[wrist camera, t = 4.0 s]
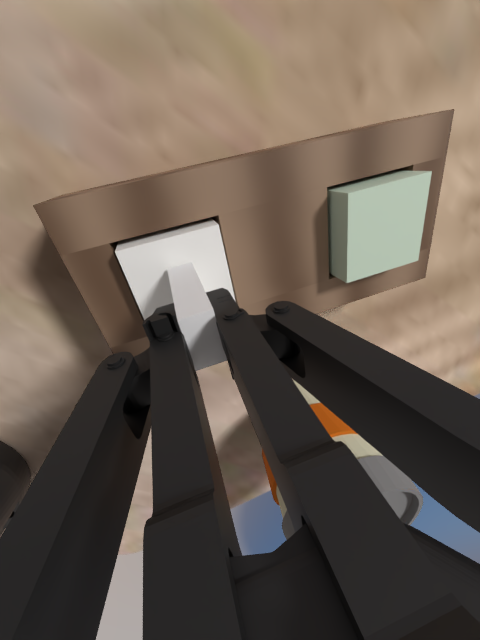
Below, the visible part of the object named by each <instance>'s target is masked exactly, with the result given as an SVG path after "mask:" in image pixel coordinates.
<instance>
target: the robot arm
mask: <svg viewBox="0 0 480 640" xmlns="http://www.w3.org/2000/svg"><path fill="white" fill-rule="evenodd" d="M167 271H168V276H169V281H170V286H171V291H172V296H173V301H174V303H171V304H168V305H165V306H161V307H158V308H156V310H155V311H154V313H153V315H151V316H149V317H148V318H146V319H145V320H144V321H143V324H142V326H143V328H144V330H145V333H146V335H147V337H148V339H149V342H150V347H149V348H148V349H147V350H145V351H144V352H142V353H140V354H138V355H137V356H135V357H133V355H132V354H131V353H130V352H119V353H115V354H113V355H110V356H109V357H108V358H106V359H105V360H104V361H102V363H101V364H100V365H99V367H98V368H97V370H96V372H95V374H94V375H93V377H92V379H91V381H90V382H89V384H88V386H87V388H86V389H85V391H84V393H83V395H82V396H81V398H80V400H79V402H78V403H77V405H76V407H75V409H74V410H73V412H72V414H71V416H70V417H69V419H68V421H67V423H66V424H65V426H64V428H63V430H62V431H61V433H60V435H59V437H58V438H57V440H56V442H55V444H54V445H53V447H52V449H51V451H50V452H49V454H48V456H47V458H46V459H45V461H44V463H43V465H42V466H41V468H40V470H39V472H38V473H37V475H36V477H35V479H34V480H33V482H32V484H31V486H30V487H29V484H30V471H29V468H28V465H27V464H26V462H25V460H24V459H23V458H22V457H21V456H20V454H19V453H17V452H16V451H15V450H14V449H12V448H11V447H10V446H8V445H6V444H5V443H3V442H1V441H0V535H1V534H2V532H3V530H4V529H5V528H6V529H5V531H4V533H3V534H2V536H1V538H0V640H96V636H97V632H98V628H99V624H100V620H101V616H102V612H103V609H104V605H105V601H106V597H107V593H108V590H109V586H110V582H111V578H112V574H113V570H114V567H115V563H116V559H117V555H118V551H119V547H120V544H121V540H122V536H123V532H124V528H125V524H126V521H127V517H128V513H129V509H130V505H131V501H132V497H133V494H134V490H135V486H136V482H137V478H138V474H139V471H140V467H141V463H142V459H143V455H144V451H145V448H146V444H147V440H148V436H149V432H150V428H151V432H152V478H153V514H152V517H151V518H149V519H148V520H147V521H146V524H145V527H144V538H143V640H480V564H479V563H477V562H475V561H473V560H471V559H470V558H468V557H466V556H464V555H463V554H461V553H459V552H457V551H455V550H454V549H452V548H450V547H448V546H446V545H444V544H443V543H441V542H439V541H437V540H436V539H434V538H432V537H430V536H428V535H427V534H425V533H423V532H421V531H419V530H418V529H415V528H414V527H412V526H410V525H408V524H405V523H403V522H402V521H401V520H400V519H399V517H398V516H397V514H396V513H395V512H394V510H393V509H392V507H391V506H390V505H389V503H388V502H387V500H386V499H385V498H384V496H383V495H382V493H381V492H380V491H379V489H378V488H377V486H376V485H375V483H374V482H373V481H372V479H371V478H370V476H369V475H368V474H367V472H366V471H365V469H364V468H363V467H362V465H361V464H360V462H359V461H358V460H357V458H356V457H355V455H354V454H353V453H352V451H351V450H350V449H349V448H348V446H347V445H346V444H344V443H343V442H342V441H337V442H336V441H334V440H333V439H332V438H331V436H330V435H329V433H328V432H327V431H326V429H325V428H324V426H323V425H322V423H321V422H320V420H319V419H318V417H317V416H316V414H315V413H314V411H313V410H312V408H311V407H310V405H309V404H308V402H307V401H306V399H305V398H304V396H303V395H302V393H301V392H300V390H299V389H298V387H297V386H296V384H295V383H294V381H293V380H292V379H294V380H295V381H296V382H297V383H298V384H300V385H301V386H302V387H303V388H304V389H305V390H307V391H308V392H309V393H310V394H311V395H312V396H314V397H315V398H316V399H317V400H318V401H320V402H321V403H322V404H323V405H324V406H325V407H327V408H328V409H329V410H330V411H331V412H332V413H334V414H335V415H336V416H337V417H338V418H340V419H341V420H342V421H343V422H344V423H345V424H347V425H348V426H349V427H350V428H351V429H352V430H354V431H355V432H356V433H357V434H358V435H359V436H361V437H362V438H363V439H364V440H365V441H367V442H368V443H369V444H370V445H371V446H372V447H374V448H375V449H376V450H377V451H378V452H379V453H381V454H382V455H383V456H384V457H385V458H387V459H388V460H389V461H390V462H391V463H392V464H394V465H395V466H396V467H397V468H398V469H399V470H401V471H402V472H403V473H404V474H405V475H407V476H408V477H409V478H410V479H411V480H412V481H414V482H415V483H416V484H417V485H418V486H419V487H421V488H422V489H423V490H424V491H425V492H427V493H428V494H429V495H430V496H431V497H432V498H434V499H435V500H436V501H437V502H438V503H440V504H441V505H442V506H444V507H445V508H446V509H447V510H449V511H450V512H451V513H452V514H454V515H455V516H456V517H458V518H459V519H461V520H462V521H464V522H465V523H467V524H468V525H469V526H471V527H472V528H474V529H475V530H477V531H478V532H480V399H478V398H476V397H474V396H472V395H470V394H469V393H467V392H465V391H463V390H461V389H459V388H457V387H455V386H453V385H451V384H449V383H447V382H445V381H443V380H442V379H440V378H438V377H436V376H434V375H432V374H430V373H428V372H426V371H424V370H422V369H420V368H418V367H416V366H415V365H413V364H411V363H409V362H407V361H405V360H403V359H401V358H399V357H397V356H395V355H393V354H391V353H389V352H388V351H386V350H384V349H382V348H380V347H378V346H376V345H374V344H372V343H370V342H368V341H366V340H364V339H362V338H361V337H359V336H357V335H355V334H353V333H351V332H349V331H347V330H345V329H343V328H341V327H339V326H337V325H335V324H334V323H332V322H330V321H328V320H326V319H324V318H322V317H320V316H318V315H316V314H314V313H312V312H310V311H308V310H307V309H305V308H303V307H301V306H299V305H297V304H295V303H293V302H290V301H277V302H275V303H272V304H270V305H269V306H267V308H266V309H265V313H266V314H261V315H249V314H248V313H247V312H246V310H244V309H242V308H239V306H238V305H237V303H236V302H235V300H234V299H233V297H232V296H231V294H230V292H229V291H228V290H226V289H224V288H219V289H216V290H213V291H209V292H205V290H204V288H203V286H202V283H201V281H200V279H199V277H198V275H197V273H196V270H195V268H194V266H193V264H192V262H190V263H186V264H182V265H179V266H175V267H172V268H168V269H167ZM227 360H228V364H229V367H230V371H231V375H232V378H233V380H235V382H236V384H237V387H238V389H239V392H240V394H241V397H242V399H243V402H244V404H245V407H246V409H247V412H248V414H249V417H250V419H251V422H252V424H253V427H254V429H255V432H256V434H257V436H258V439H259V441H260V444H261V446H262V449H263V451H264V454H265V456H266V459H267V461H268V464H269V466H270V469H271V471H272V474H273V476H274V479H275V481H276V484H277V486H278V489H279V491H280V493H281V496H282V498H283V501H284V503H285V506H286V508H287V511H288V513H289V516H290V518H291V521H292V524H293V527H294V530H295V533H294V534H293V535H292V536H291V537H290V538H289V539H287V541H285V542H284V543H283V544H282V545H281V546H280V547H279V548H277V549H276V550H275V551H273V552H271V553H265V554H255V555H246V556H242V553H241V550H240V547H239V543H238V539H237V536H236V532H235V527H234V523H233V519H232V515H231V511H230V507H229V503H228V499H227V495H226V491H225V487H224V483H223V478H222V474H221V470H220V466H219V462H218V458H217V454H216V450H215V446H214V442H213V438H212V434H211V430H210V425H209V421H208V417H207V413H206V409H205V405H204V401H203V397H202V393H201V389H200V385H199V381H198V377H197V374H196V371H197V370H200V369H203V368H206V367H209V366H212V365H215V364H218V363H221V362H224V361H227ZM28 487H29V489H28ZM27 490H28V491H27Z"/></svg>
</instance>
